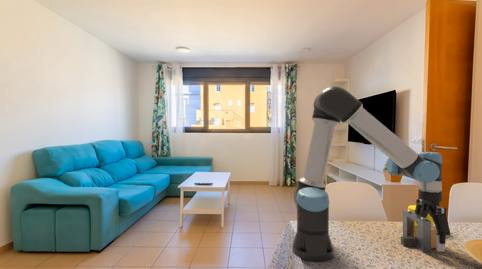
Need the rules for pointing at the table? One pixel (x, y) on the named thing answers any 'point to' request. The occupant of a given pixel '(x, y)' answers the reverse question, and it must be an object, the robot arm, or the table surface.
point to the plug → (414, 240)
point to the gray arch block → (423, 230)
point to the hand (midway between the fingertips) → (430, 244)
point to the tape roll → (412, 208)
